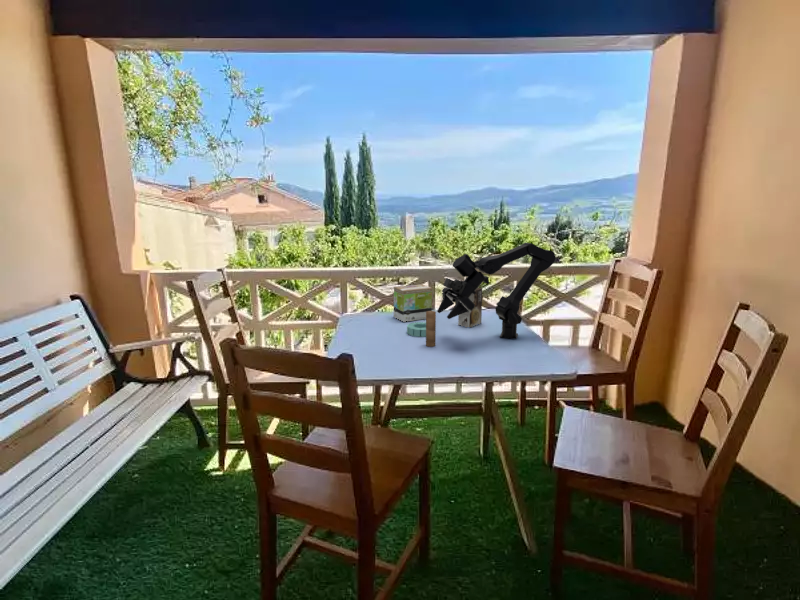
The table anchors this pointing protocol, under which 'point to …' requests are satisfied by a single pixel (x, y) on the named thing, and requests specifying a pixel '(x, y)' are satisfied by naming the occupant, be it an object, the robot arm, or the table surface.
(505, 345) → the table surface
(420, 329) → the teal bead
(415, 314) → the tea box
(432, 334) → the walnut peg
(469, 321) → the coffee box
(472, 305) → the robot arm
